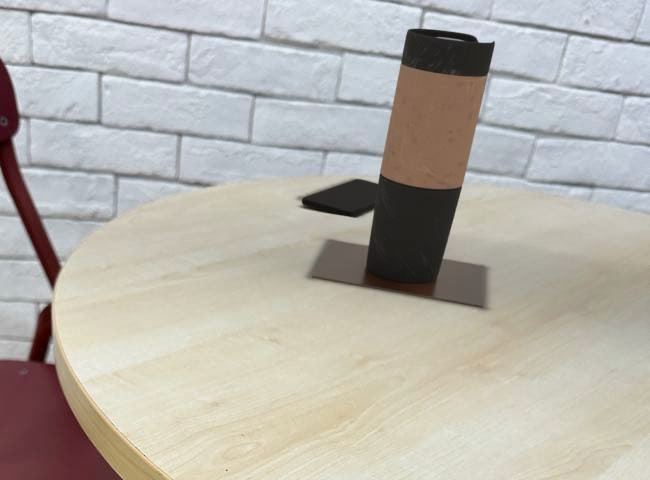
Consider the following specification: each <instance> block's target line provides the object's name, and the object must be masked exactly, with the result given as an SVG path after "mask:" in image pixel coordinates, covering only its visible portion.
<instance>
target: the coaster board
mask: <svg viewBox="0 0 650 480" xmlns="http://www.w3.org/2000/svg"><path fill="white" fill-rule="evenodd" d="M368 247H369V245H363V244H357V243H350V242H345V241H338V240H335V239H334V240H333V239H330V241H329V243H328V244H327V247H326V248H325V250H324V252H323V254H322V256H321V258H320V259H319V262H318V263H317V266H316V268H315V269H314V272H313V273H312V276H311V278H312V279H318V280H323V281H330V282H336V283H341V284H346V285H352V286H358V287H361V288H362V287H363V288H368V289H375V290H381V291H385V292H391V293H397V294H402V295H408V296H414V297H419V298H426V299H430V300H437V301H441V302H442V301H443V302H447V303H453V304H458V305H465V306H470V307H475V308H481V309H483V308H484V271H485V270H484V269H485V268H484V267H485V266H483V265H479V264H473V263H467V262H462V261H455V260H450V259H444V258H443V260H442V263H441V267H440V271H439V274H438V276H437V278H436V279H435V280H433V281H430V282H426V283H405V282H399V281H394V280H390V279H386V278H383V277H380V276H378V275H376V274H374V273H372V272H371V271H370V270H369V269H368V268H367V265H366V263H367V255H368Z"/></svg>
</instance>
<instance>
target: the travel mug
mask: <svg viewBox="0 0 650 480" xmlns="http://www.w3.org/2000/svg"><path fill="white" fill-rule="evenodd" d="M403 44H404V45H403V49H402V54H401V62H400V66H399V70H398V75H397V80H396V87H395V92H394V97H393V102H392V106H391V113H390V117H389V123H388V129H387V134H386V139H385V144H384V148H383V154H382V158H381V159H382V160H381V164H380V169H379V172H380V173H379V174H378V175H379V176H378V183H377V184H378V188H377V195H376V202H375V208H374V209H373V215H372V222H371V227H370V228H371V229H370V234H369V242H368V246H369V247H368V255H367V263H366V265H367V268H368V269H369V270H370V271H371V272H372V273H374V274H376V275H378V276H380V277H383V278H386V279H390V280H394V281H399V282H405V283H426V282H430V281H433V280H435V279H436V278H437V276H438V274H439V271H440V267H441V263H442V260H443V259H444V256H445V252H446V248H447V245H448V241H449V237H450V234H451V231H452V226H453V222H454V219H455V215H456V213H457V207H458V204H459V200H460V197H461V193H462V189H463V185H464V182H465V177H466V173H467V170H468V169H467V168H468V164H469V160H470V155H471V150H472V147H473V142H474V138H475V134H476V129H477V124H478V122H479V121H478V120H479V116H480V112H481V107H482V103H483V99H484V94H485V91H486V90H485V89H486V86H487V81H488V77H489V73H490V67H491V64H492V60H493V55H494V51H495V45H496V41H495V40H493V41H492V42H480V41H479V40H478V38H477V37H476V36H475V35H473V34H469V33H464V32H459V31H458V32H457V31H450V30H444V29H443V30H442V29H435V28H434V29H432V28H408V29H407V31H406V34H405V39H404V43H403Z"/></svg>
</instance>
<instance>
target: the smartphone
mask: <svg viewBox="0 0 650 480" xmlns="http://www.w3.org/2000/svg"><path fill="white" fill-rule="evenodd" d="M377 188H378V183H375V182H372V181H369V180H365V179H362V178H361V179H360V178H355V179H353V180H350V181H347V182H344V183H341V184H338V185H335V186H332V187H330V188H327V189H323V190H320V191H318V192H314V193H312V194H309V195H307V196H306V195H305V196H303V197H302V198H301V204H302V205H303V206H305V207H307V208H308V207H309V208H313V209H316V210H319V211H322V212H325V213H328V214H333V215H336V216H340V217H342V216H343V217H348V218H354V217H356V216H359V215H361V214H363V213H366V212H368V211H371V210H374V208H375V202H376V195H377Z"/></svg>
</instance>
